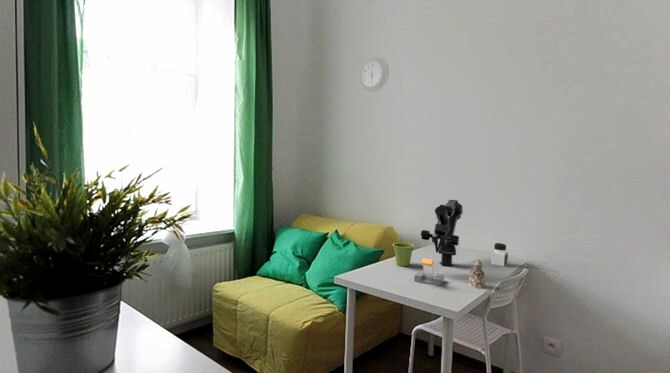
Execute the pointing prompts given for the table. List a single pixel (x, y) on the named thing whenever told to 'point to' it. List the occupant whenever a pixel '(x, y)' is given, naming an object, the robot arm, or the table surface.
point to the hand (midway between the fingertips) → (436, 252)
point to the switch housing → (429, 279)
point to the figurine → (477, 276)
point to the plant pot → (403, 253)
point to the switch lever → (428, 268)
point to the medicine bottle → (499, 255)
